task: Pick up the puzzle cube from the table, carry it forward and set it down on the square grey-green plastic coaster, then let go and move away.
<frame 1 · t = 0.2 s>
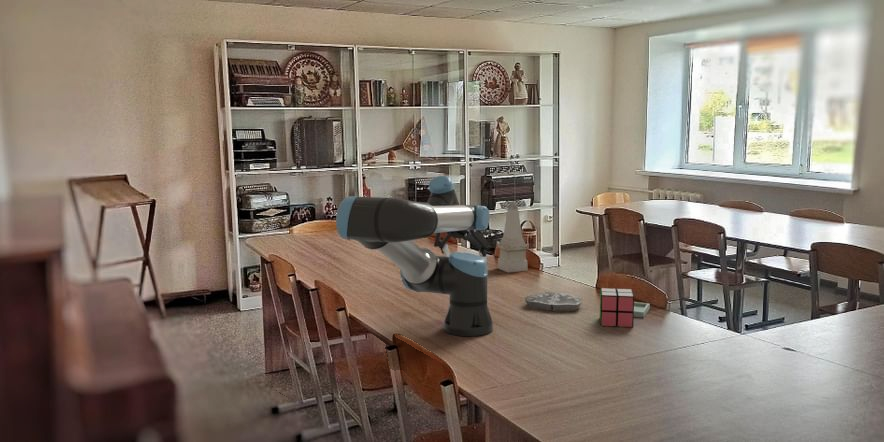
hand: (466, 260, 244), 15 cm above the table, tool tilted 35°, fingers open, 13 cm apart
miniature monument: (512, 269, 303), on the table
brain slice: (553, 307, 242), on the table
coaster: (628, 311, 234), on the table
puzzle cube: (616, 323, 221), on the table
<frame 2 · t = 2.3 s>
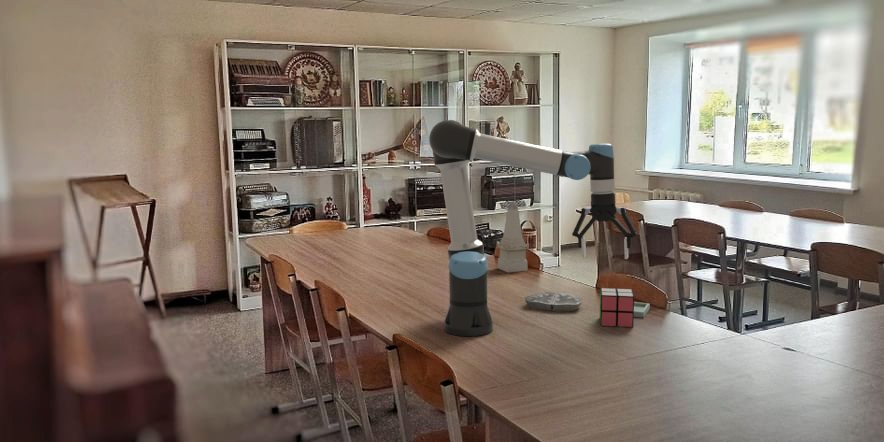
hand: (605, 257, 224), 20 cm above the table, tool pointing down, fingers open, 13 cm apart
nothing on the table moved.
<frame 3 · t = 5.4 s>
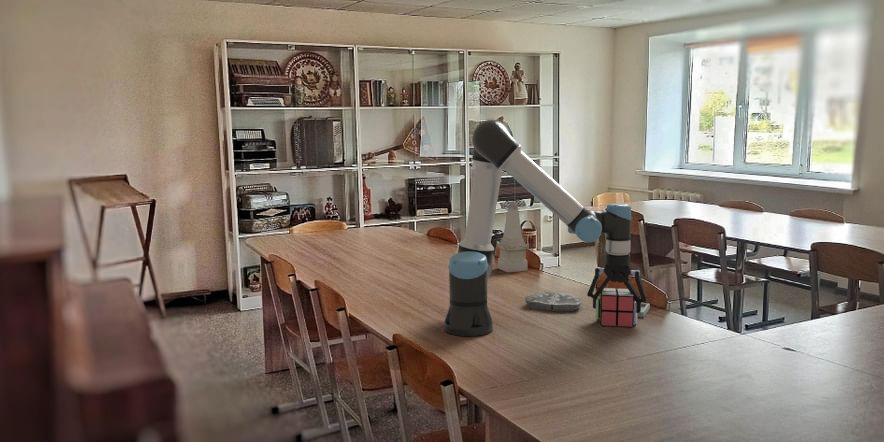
hand: (616, 320, 221), 1 cm above the table, tool pointing down, fingers closed on puzzle cube, 11 cm apart
puzzle cube: (616, 323, 221), on the table, touching gripper
everything else where it was.
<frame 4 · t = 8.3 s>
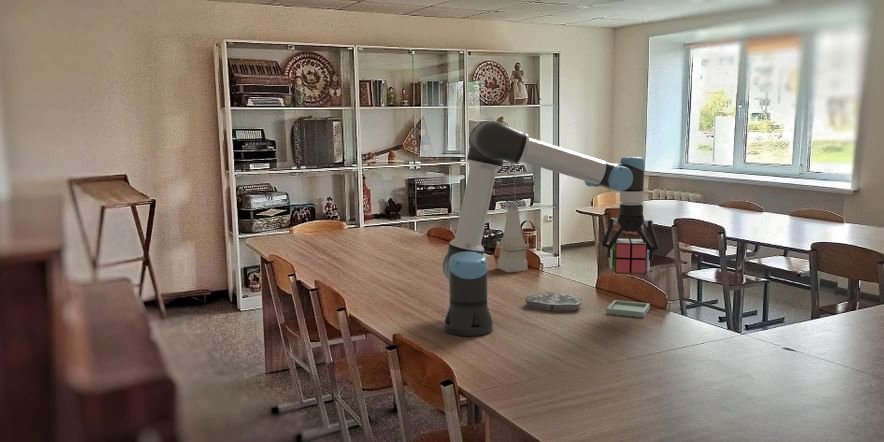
hand: (629, 268, 232), 15 cm above the table, tool pointing down, fingers closed on puzzle cube, 11 cm apart
puzzle cube: (629, 271, 232), point 14 cm above the table, touching gripper
everything else where it was.
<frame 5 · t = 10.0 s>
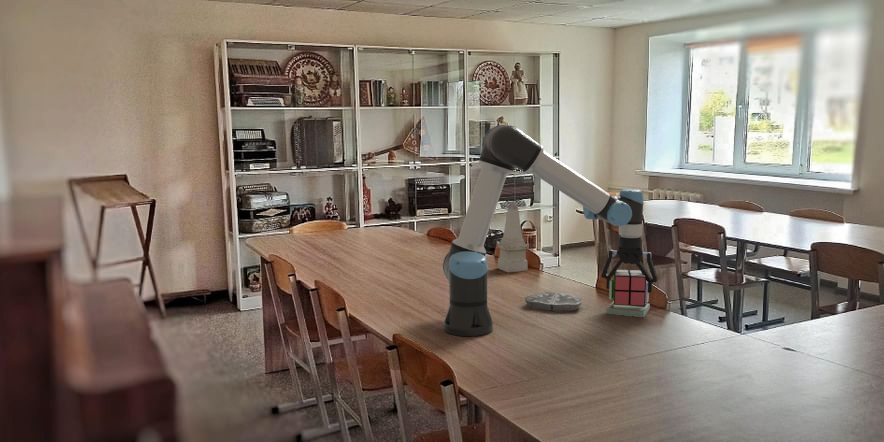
hand: (628, 300, 234), 4 cm above the table, tool pointing down, fingers closed on puzzle cube, 11 cm apart
puzzle cube: (628, 302, 234), point 3 cm above the table, touching gripper
everything else where it was.
when the fingers open (3 cm above the table, at t = 11.2 s): puzzle cube stays where it is, resting on coaster.
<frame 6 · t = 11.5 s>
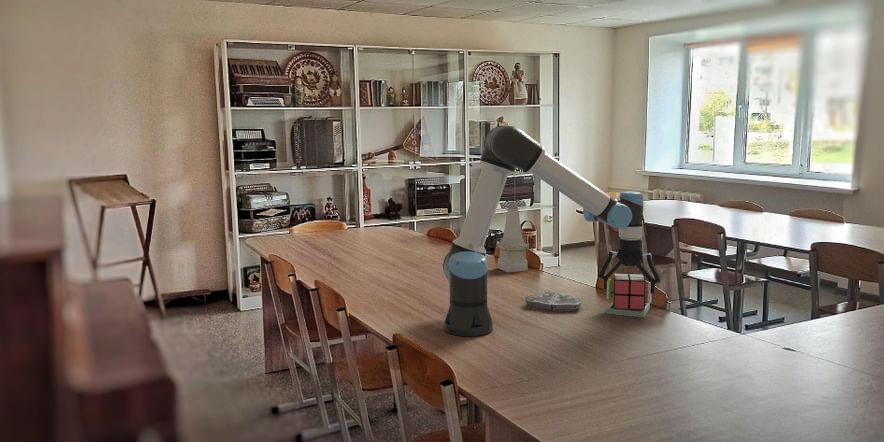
hand: (628, 300, 234), 4 cm above the table, tool pointing down, fingers open, 13 cm apart
puzzle cube: (628, 306, 234), point 2 cm above the table, touching coaster
everything else where it was.
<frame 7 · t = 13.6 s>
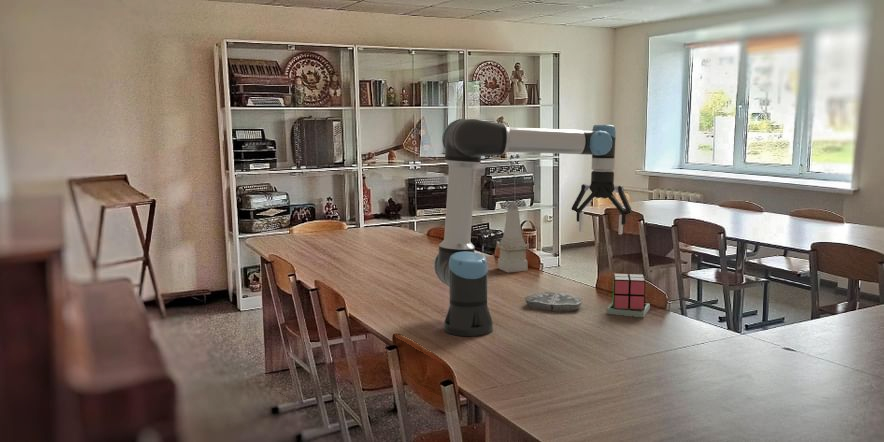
hand: (600, 232, 238), 26 cm above the table, tool pointing down, fingers open, 13 cm apart
nothing on the table moved.
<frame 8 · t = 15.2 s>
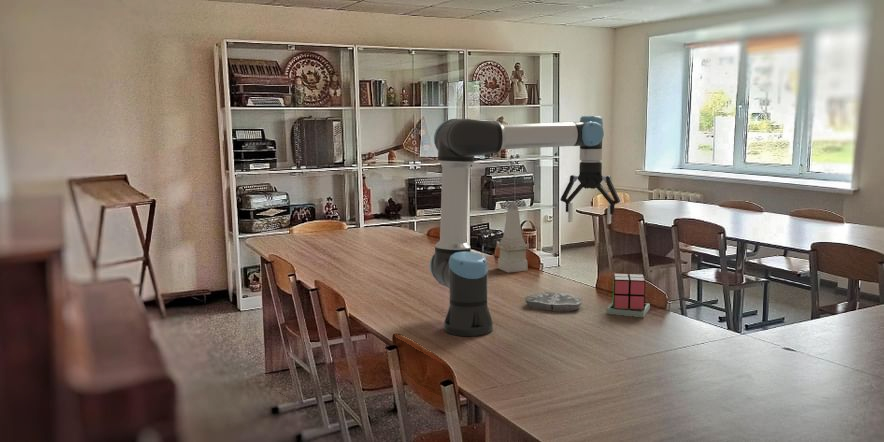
hand: (589, 222, 241), 29 cm above the table, tool pointing down, fingers open, 13 cm apart
nothing on the table moved.
at the end: puzzle cube inside the target area on the coaster (0.1 cm from its centre), point 1.6 cm above the coaster's base; puzzle cube tilted 0°; the gripper is holding nothing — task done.
